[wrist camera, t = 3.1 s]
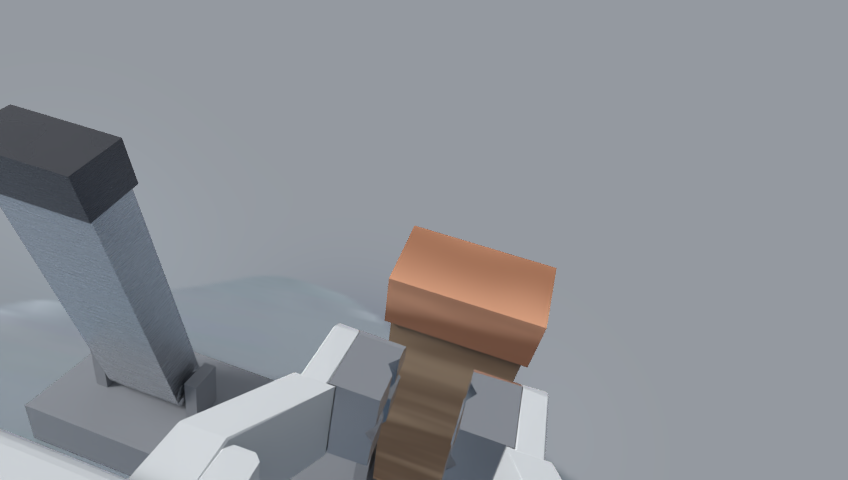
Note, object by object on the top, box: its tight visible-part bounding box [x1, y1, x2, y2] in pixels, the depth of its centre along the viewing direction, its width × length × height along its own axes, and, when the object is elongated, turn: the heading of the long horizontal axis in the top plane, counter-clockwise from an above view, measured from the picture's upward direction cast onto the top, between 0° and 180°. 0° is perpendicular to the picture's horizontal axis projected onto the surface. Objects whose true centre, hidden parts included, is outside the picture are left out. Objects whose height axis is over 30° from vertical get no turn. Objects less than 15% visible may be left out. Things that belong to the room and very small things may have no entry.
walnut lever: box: [373, 226, 556, 480], centre depth 25 cm, size 3×5×19 cm, turn 74°
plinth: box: [25, 351, 377, 480], centre depth 32 cm, size 8×30×6 cm, turn 75°
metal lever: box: [0, 105, 199, 406], centre depth 27 cm, size 3×5×19 cm, turn 75°
